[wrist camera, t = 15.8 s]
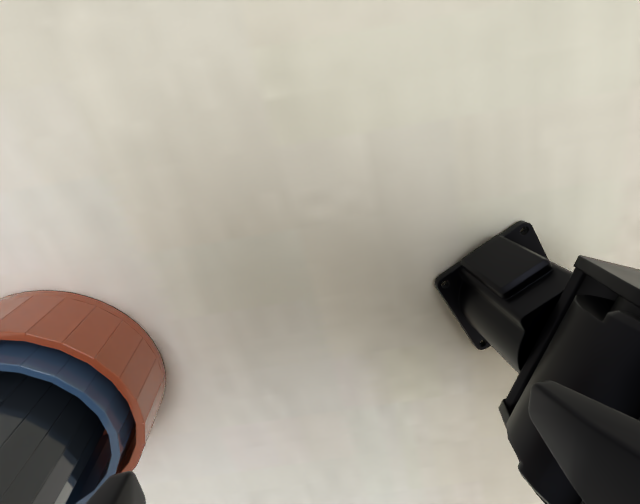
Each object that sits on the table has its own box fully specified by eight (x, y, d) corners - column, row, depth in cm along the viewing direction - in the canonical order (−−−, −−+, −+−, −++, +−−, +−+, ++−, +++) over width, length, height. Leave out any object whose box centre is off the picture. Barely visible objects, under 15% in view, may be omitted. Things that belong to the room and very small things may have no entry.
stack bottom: (205, 382, 22) (192, 434, 19) (73, 475, 24) (36, 542, 20) (53, 249, 18) (-2, 283, 15) (-97, 369, 20) (-183, 428, 16)
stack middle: (185, 381, 22) (163, 450, 18) (71, 462, 23) (22, 548, 19) (55, 270, 19) (-15, 320, 14) (-72, 371, 20) (-177, 449, 15)
